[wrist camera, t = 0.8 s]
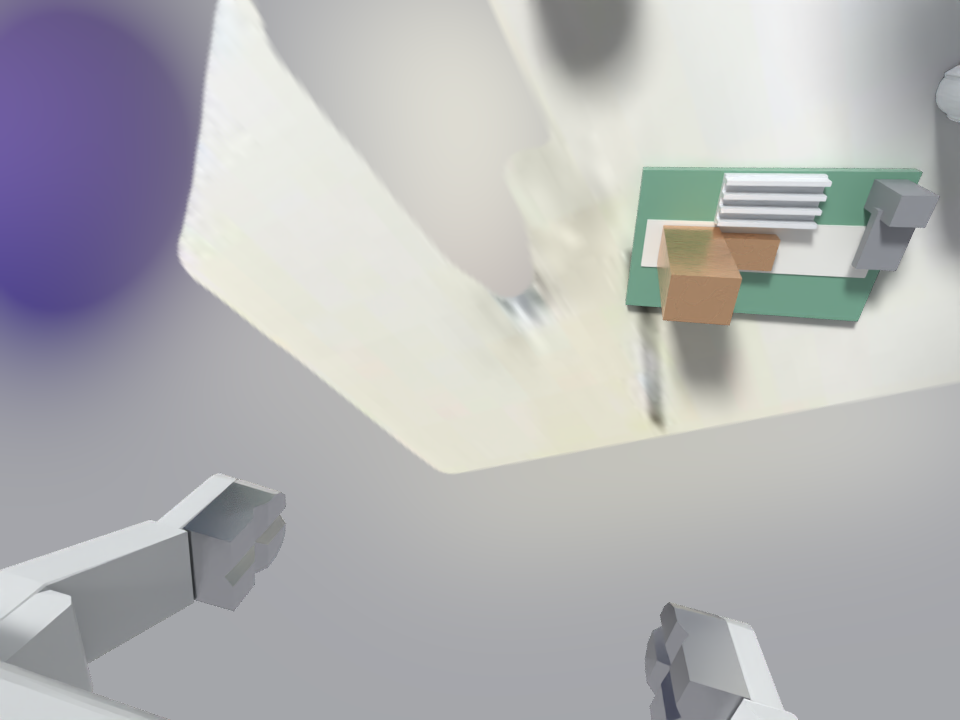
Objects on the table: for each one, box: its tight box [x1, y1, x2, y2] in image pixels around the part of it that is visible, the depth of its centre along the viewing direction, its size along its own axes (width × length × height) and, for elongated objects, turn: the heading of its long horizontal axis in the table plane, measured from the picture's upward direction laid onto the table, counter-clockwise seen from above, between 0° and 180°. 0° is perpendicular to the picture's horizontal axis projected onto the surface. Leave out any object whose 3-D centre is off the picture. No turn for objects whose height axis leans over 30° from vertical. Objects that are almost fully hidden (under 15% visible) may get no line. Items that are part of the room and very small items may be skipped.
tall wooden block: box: [657, 225, 781, 325], centre depth 42 cm, size 10×4×12 cm, turn 92°
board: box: [626, 167, 940, 321], centre depth 45 cm, size 22×14×6 cm, turn 92°
